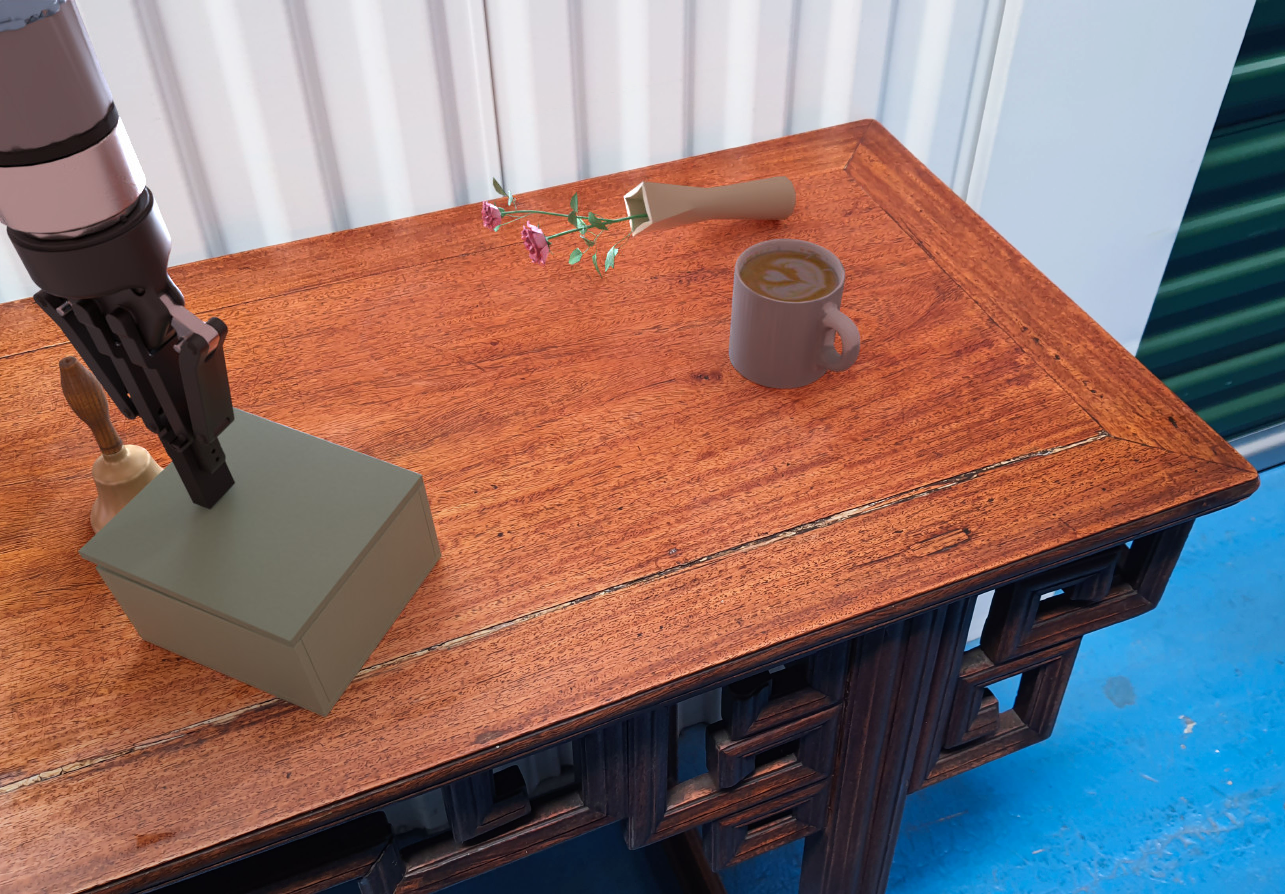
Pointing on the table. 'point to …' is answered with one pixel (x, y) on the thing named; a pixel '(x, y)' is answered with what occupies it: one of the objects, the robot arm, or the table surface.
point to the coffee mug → (789, 314)
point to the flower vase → (659, 211)
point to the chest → (327, 645)
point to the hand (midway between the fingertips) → (214, 492)
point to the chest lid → (259, 528)
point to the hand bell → (106, 445)
